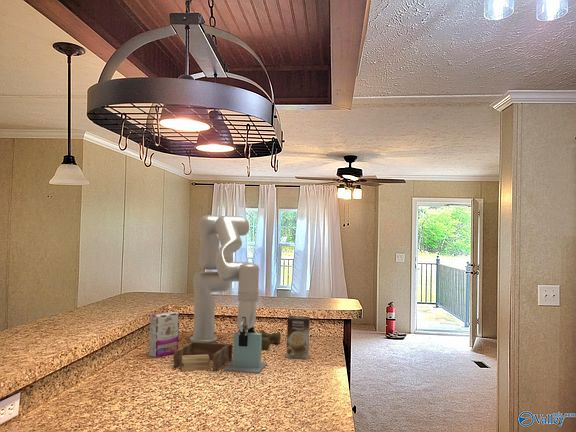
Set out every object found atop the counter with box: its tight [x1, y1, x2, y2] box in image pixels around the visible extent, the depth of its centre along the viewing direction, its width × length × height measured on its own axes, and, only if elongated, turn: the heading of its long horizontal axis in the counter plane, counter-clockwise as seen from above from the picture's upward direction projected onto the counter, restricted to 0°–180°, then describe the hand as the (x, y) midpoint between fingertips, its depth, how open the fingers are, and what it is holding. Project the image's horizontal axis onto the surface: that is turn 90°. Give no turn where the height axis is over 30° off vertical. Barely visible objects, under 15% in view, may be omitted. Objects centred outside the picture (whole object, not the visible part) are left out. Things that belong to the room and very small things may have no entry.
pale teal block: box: [232, 331, 262, 368], centre depth 170 cm, size 3×10×12 cm, turn 80°
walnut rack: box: [173, 340, 233, 372], centre depth 173 cm, size 16×18×6 cm
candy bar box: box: [148, 311, 180, 359], centre depth 186 cm, size 11×5×16 cm, turn 143°
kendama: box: [259, 329, 282, 351], centre depth 207 cm, size 6×10×20 cm
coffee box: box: [285, 315, 311, 360], centre depth 188 cm, size 9×6×16 cm
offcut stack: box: [180, 354, 211, 372], centre depth 167 cm, size 5×10×4 cm, turn 106°
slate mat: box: [223, 361, 268, 375], centre depth 170 cm, size 12×13×1 cm
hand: (246, 343), depth 170 cm, fingers open, 9 cm apart
